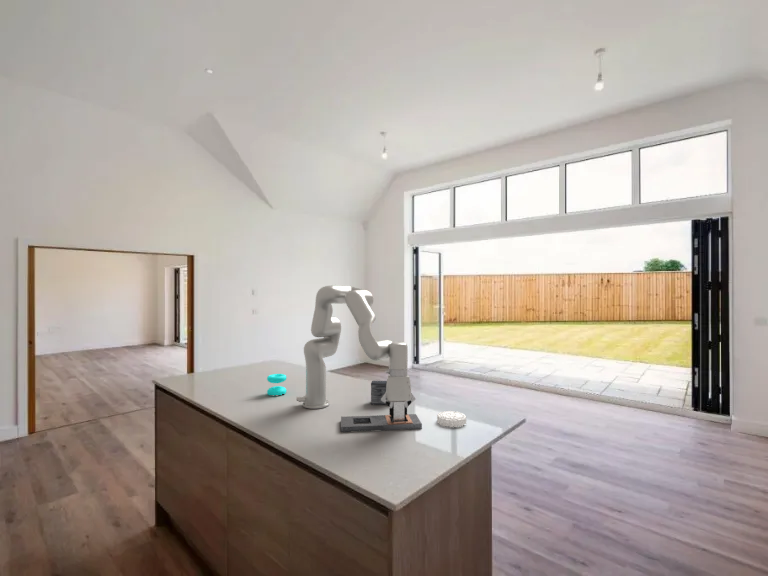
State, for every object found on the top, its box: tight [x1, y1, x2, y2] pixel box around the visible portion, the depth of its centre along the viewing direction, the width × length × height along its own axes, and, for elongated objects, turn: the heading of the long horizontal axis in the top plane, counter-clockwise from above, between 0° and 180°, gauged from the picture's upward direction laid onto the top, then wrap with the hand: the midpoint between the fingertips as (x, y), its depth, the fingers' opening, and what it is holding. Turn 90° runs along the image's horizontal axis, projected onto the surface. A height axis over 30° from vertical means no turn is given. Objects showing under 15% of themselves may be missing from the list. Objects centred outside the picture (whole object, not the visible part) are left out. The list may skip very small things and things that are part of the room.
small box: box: [370, 380, 389, 406], centre depth 185 cm, size 11×6×10 cm, turn 84°
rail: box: [340, 413, 423, 433], centre depth 155 cm, size 32×12×2 cm, turn 96°
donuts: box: [266, 373, 287, 397], centre depth 201 cm, size 10×10×10 cm
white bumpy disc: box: [436, 410, 467, 428], centre depth 158 cm, size 12×12×4 cm
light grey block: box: [392, 401, 405, 422], centre depth 156 cm, size 4×4×9 cm
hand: (398, 416), depth 156 cm, fingers closed on light grey block, 4 cm apart
